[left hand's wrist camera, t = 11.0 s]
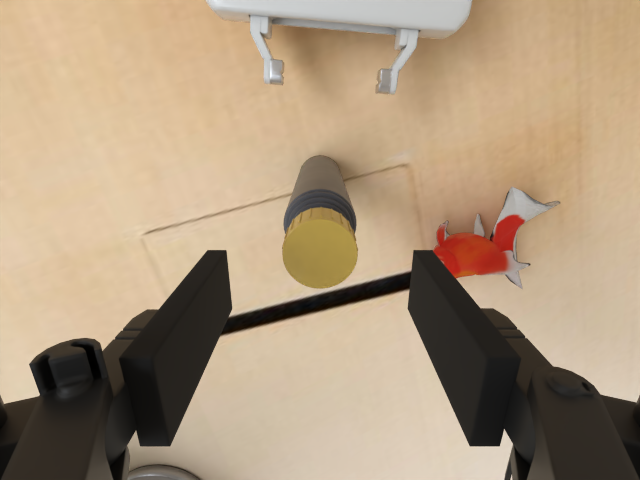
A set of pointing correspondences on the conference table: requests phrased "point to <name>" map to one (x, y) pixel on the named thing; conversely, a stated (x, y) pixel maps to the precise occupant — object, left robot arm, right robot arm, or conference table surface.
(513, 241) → the fish
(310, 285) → the cap
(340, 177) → the bottle
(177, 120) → the conference table surface
